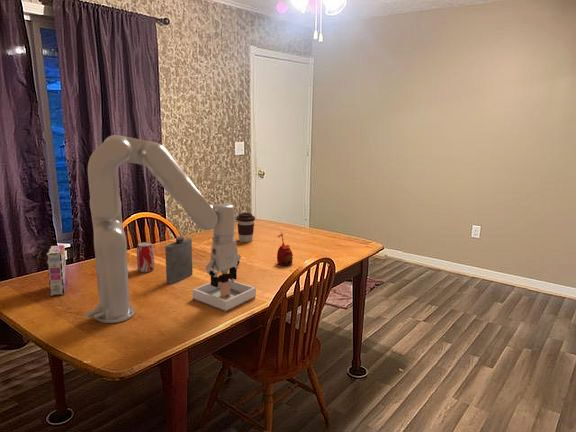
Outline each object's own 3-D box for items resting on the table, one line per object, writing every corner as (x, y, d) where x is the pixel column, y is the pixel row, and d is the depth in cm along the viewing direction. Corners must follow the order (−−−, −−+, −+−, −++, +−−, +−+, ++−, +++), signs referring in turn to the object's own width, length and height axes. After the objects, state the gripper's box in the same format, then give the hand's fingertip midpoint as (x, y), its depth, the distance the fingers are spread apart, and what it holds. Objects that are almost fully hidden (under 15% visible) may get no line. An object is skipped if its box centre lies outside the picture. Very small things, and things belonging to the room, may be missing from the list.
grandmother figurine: (228, 292, 166) (228, 261, 163) (235, 295, 164) (235, 263, 161) (212, 298, 160) (212, 266, 157) (219, 301, 158) (219, 268, 155)
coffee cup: (235, 238, 239) (234, 212, 236) (252, 237, 242) (252, 211, 239) (238, 244, 230) (238, 216, 227) (256, 242, 233) (256, 215, 230)
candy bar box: (65, 295, 162) (61, 253, 158) (50, 296, 160) (45, 254, 156) (68, 284, 172) (64, 244, 168) (54, 285, 170) (50, 245, 166)
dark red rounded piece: (282, 267, 197) (283, 235, 194) (273, 263, 202) (273, 232, 199) (295, 264, 202) (296, 233, 198) (285, 260, 207) (286, 229, 204)
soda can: (149, 273, 185) (148, 247, 182) (134, 272, 186) (132, 245, 183) (157, 268, 192) (156, 242, 189) (143, 266, 193) (141, 241, 190)
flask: (195, 274, 186) (194, 233, 182) (172, 285, 173) (170, 242, 169) (188, 272, 188) (187, 232, 183) (165, 283, 175) (163, 240, 171)
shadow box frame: (226, 312, 151) (226, 301, 150) (192, 299, 161) (192, 289, 160) (255, 297, 164) (255, 287, 163) (223, 286, 173) (223, 277, 172)
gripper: (214, 245, 148) (214, 292, 152) (247, 235, 162) (247, 278, 165) (198, 241, 152) (199, 286, 156) (232, 231, 166) (232, 273, 170)
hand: (223, 282), depth 161 cm, fingers open, 9 cm apart
